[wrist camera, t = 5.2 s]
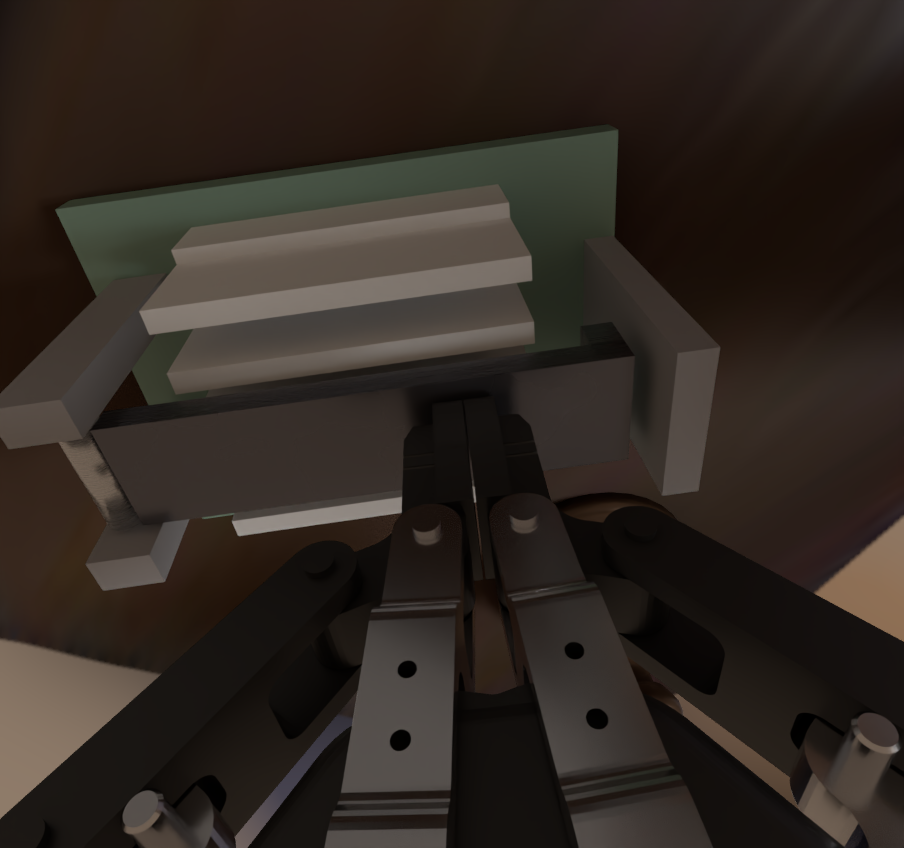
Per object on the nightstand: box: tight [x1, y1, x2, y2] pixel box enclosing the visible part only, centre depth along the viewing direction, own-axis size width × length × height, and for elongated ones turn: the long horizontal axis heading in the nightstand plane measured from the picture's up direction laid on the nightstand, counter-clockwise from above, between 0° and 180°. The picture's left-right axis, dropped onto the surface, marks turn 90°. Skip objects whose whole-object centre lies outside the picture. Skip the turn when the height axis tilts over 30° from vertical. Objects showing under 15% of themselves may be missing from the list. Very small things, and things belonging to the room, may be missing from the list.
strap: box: [58, 322, 635, 531], centre depth 15 cm, size 14×3×2 cm, turn 97°
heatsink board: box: [0, 124, 720, 591], centre depth 18 cm, size 16×12×8 cm
